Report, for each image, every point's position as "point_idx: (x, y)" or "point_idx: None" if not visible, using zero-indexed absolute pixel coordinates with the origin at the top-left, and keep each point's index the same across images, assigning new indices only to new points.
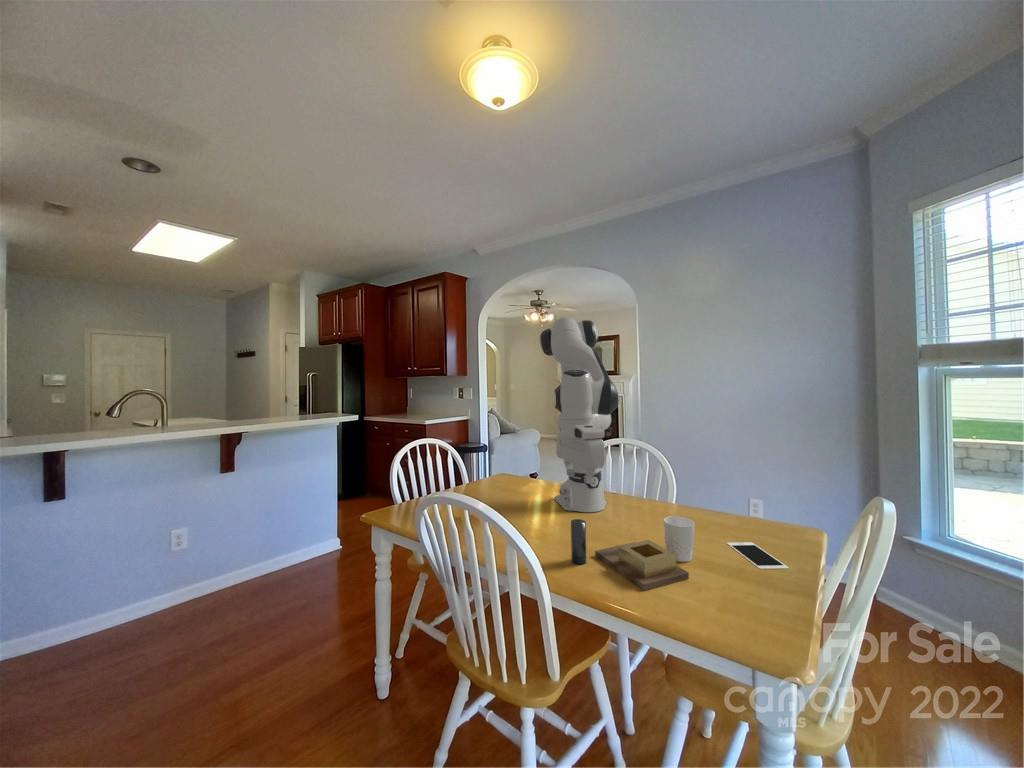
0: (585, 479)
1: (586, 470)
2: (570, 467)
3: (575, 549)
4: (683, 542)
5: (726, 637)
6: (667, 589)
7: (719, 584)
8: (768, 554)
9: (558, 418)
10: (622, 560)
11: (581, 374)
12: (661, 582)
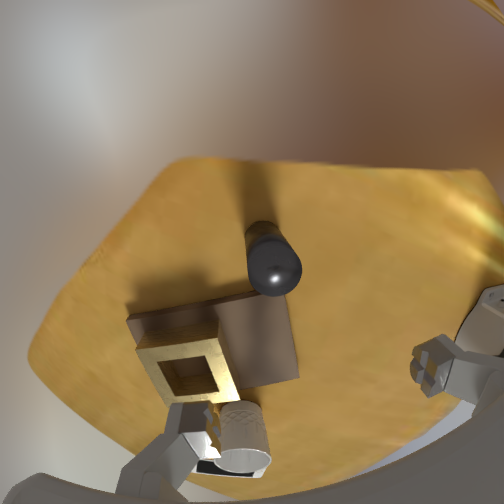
0: (182, 416)
1: (146, 473)
2: (458, 383)
3: (251, 233)
4: None
5: (47, 343)
6: (134, 349)
7: (151, 410)
8: (224, 475)
9: None
10: (206, 325)
11: None
12: None
